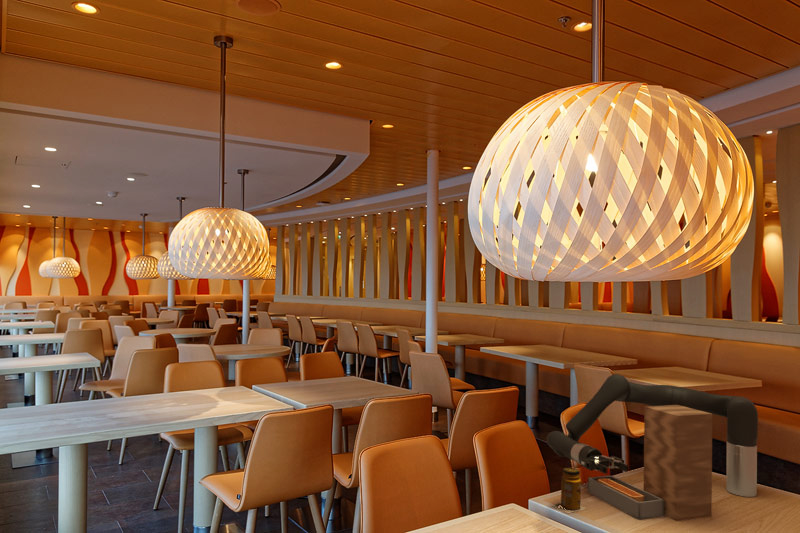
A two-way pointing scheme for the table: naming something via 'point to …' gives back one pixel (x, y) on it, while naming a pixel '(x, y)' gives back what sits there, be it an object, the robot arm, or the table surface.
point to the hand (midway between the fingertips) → (617, 469)
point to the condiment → (570, 491)
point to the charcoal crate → (627, 499)
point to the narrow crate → (622, 489)
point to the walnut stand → (679, 460)
